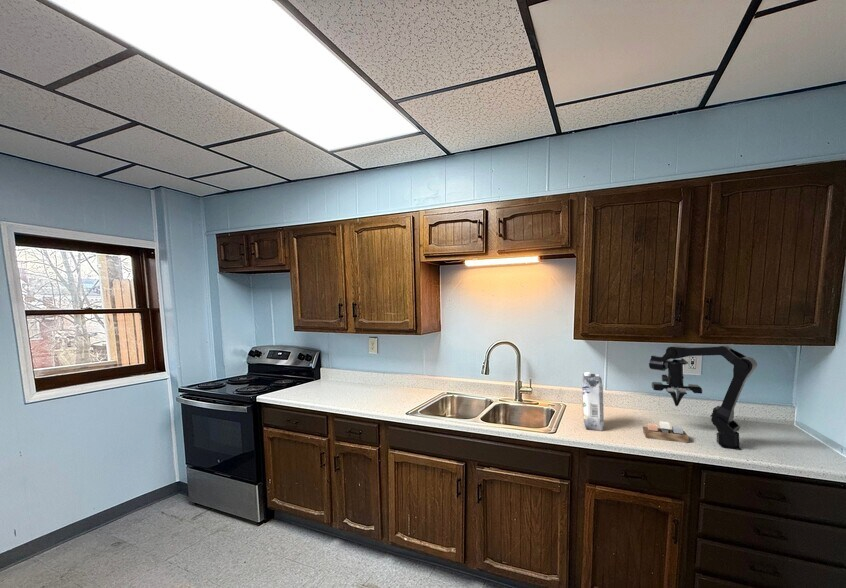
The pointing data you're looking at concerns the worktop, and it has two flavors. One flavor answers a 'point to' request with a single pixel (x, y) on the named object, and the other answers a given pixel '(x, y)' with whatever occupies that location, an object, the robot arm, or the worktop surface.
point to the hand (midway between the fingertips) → (676, 405)
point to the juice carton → (592, 401)
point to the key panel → (666, 435)
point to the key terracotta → (652, 427)
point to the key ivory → (664, 426)
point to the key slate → (677, 430)
